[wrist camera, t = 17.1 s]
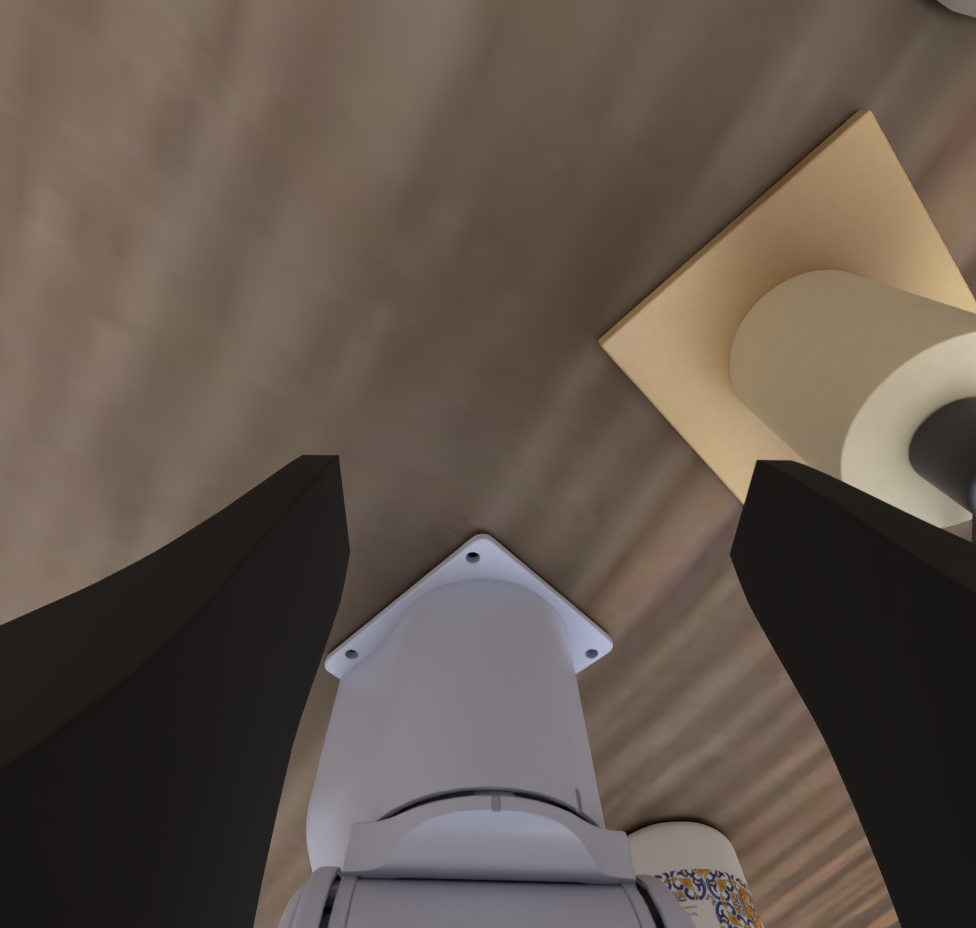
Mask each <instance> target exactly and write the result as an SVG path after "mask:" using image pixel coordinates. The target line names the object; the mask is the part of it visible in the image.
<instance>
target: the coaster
mask: <svg viewBox="0 0 976 928" xmlns="http://www.w3.org/2000/svg"><path fill="white" fill-rule="evenodd" d="M817 270H840V271H844V272H848V273H852V274H855V275H858V276H861V277H864V278H867V279H870V280H873V281H877V282H880V283H883V284H886V285H889V286H892V287H895V288H898V289H901V290H904V291H907V292H910V293H913V294H917V295H920V296H923V297H926V298H929V299H932V300H935V301H938V302H941V303H944V304H947V305H950V306H953V307H957V308H960V309H963V310H966V311H969V312H972V313H975V314H976V301H975V299H974V297H973V295H972V293H971V292H970V290H969V288H968V286H967V284H966V282H965V281H964V279H963V277H962V275H961V273H960V272H959V270H958V268H957V266H956V264H955V262H954V261H953V259H952V257H951V255H950V253H949V251H948V250H947V248H946V246H945V244H944V242H943V241H942V239H941V237H940V235H939V233H938V231H937V230H936V228H935V226H934V224H933V222H932V221H931V219H930V217H929V215H928V213H927V211H926V210H925V208H924V206H923V204H922V202H921V201H920V199H919V197H918V195H917V193H916V191H915V190H914V188H913V186H912V184H911V182H910V180H909V179H908V177H907V175H906V173H905V171H904V170H903V168H902V166H901V164H900V162H899V160H898V159H897V157H896V155H895V153H894V151H893V150H892V148H891V146H890V144H889V142H888V140H887V139H886V137H885V135H884V133H883V131H882V130H881V128H880V126H879V124H878V122H877V120H876V119H875V117H874V115H873V113H872V111H871V110H862V111H857V112H856V113H855V114H854V115H853V116H852V117H850V118H849V119H848V120H847V121H846V122H845V123H844V124H843V125H841V126H840V127H839V128H838V129H837V130H836V131H835V132H833V133H832V134H831V135H830V136H829V137H828V138H827V139H825V140H824V141H823V142H822V143H821V144H820V145H819V146H818V147H816V148H815V149H814V150H813V151H812V152H811V153H810V154H808V155H807V156H806V157H805V158H804V159H803V160H802V161H801V162H799V163H798V164H797V165H796V166H795V167H794V168H793V169H791V170H790V171H789V172H788V173H787V174H786V175H785V176H784V177H782V178H781V179H780V180H779V181H778V182H777V183H776V184H774V185H773V186H772V187H771V188H770V189H769V190H768V191H767V192H765V193H764V194H763V195H762V196H761V197H760V198H759V199H757V200H756V201H755V202H754V203H753V204H752V205H751V206H749V207H748V208H747V209H746V210H745V211H744V212H743V213H742V214H740V215H739V216H738V217H737V218H736V219H735V220H734V221H732V222H731V223H730V224H729V225H728V226H727V227H726V228H725V229H723V230H722V231H721V232H720V233H719V234H718V235H717V236H715V237H714V238H713V239H712V240H711V241H710V242H709V243H708V244H706V245H705V246H704V247H703V248H702V249H701V250H700V251H698V252H697V253H696V254H695V255H694V256H693V257H692V258H691V259H689V260H688V261H687V262H686V263H685V264H684V265H683V266H681V267H680V268H679V269H678V270H677V271H676V272H675V273H674V274H672V275H671V276H670V277H669V278H668V279H667V280H666V281H664V282H663V283H662V284H661V285H660V286H659V287H658V288H656V289H655V290H654V291H653V292H652V293H651V294H650V295H649V296H647V297H646V298H645V299H644V300H643V301H642V302H641V303H639V304H638V305H637V306H636V307H635V308H634V309H633V310H632V311H630V312H629V313H628V314H627V315H626V316H625V317H624V318H622V319H621V320H620V321H619V322H618V323H617V324H616V325H615V326H613V327H612V328H611V329H610V330H609V331H608V332H607V333H605V334H604V335H603V336H602V337H601V338H600V339H599V340H598V342H599V344H600V346H601V347H602V348H603V349H604V350H605V351H606V353H607V354H608V355H609V356H610V357H611V358H612V359H613V360H614V361H615V363H616V364H617V365H618V366H619V367H620V368H621V369H622V370H623V371H624V373H625V374H626V375H627V376H628V377H629V378H630V379H631V380H632V382H633V383H634V384H635V385H636V386H637V387H638V388H639V389H640V390H641V392H642V393H643V394H644V395H645V396H646V397H647V398H648V399H649V400H650V402H651V403H652V404H653V405H654V406H655V407H656V408H657V409H658V410H659V412H660V413H661V414H662V415H663V416H664V417H665V418H666V419H667V420H668V422H669V423H670V424H671V425H672V426H673V427H674V428H675V429H676V431H677V432H678V433H679V434H680V435H681V436H682V437H683V438H684V439H685V441H686V442H687V443H688V444H689V445H690V446H691V447H692V448H693V449H694V451H695V452H696V453H697V454H698V455H699V456H700V457H701V458H702V459H703V461H704V462H705V463H706V464H707V465H708V466H709V467H710V468H711V469H712V471H713V472H714V473H715V474H716V475H717V476H718V477H719V478H720V480H721V481H722V482H723V483H724V484H725V485H726V486H727V487H728V488H729V490H730V491H731V492H732V493H733V494H734V495H735V496H736V497H737V498H738V500H739V501H740V502H741V503H742V504H743V505H744V503H745V499H746V496H747V492H748V489H749V485H750V482H751V478H752V475H753V471H754V468H755V464H756V461H757V460H792V461H796V462H798V463H801V464H804V465H807V466H809V465H808V464H807V463H806V462H805V461H804V460H803V459H802V458H801V457H800V456H798V455H797V454H796V453H795V452H794V451H793V450H792V449H791V448H790V447H789V446H788V445H787V444H786V443H785V442H784V441H783V440H781V439H780V438H779V437H778V436H777V435H776V434H775V433H774V432H773V431H772V430H771V429H770V428H769V427H768V426H767V425H766V424H764V423H763V422H762V421H761V420H760V419H759V418H758V417H757V416H756V415H755V414H754V413H753V412H752V411H751V410H750V409H749V408H747V407H746V406H745V405H744V403H743V402H742V401H741V400H740V399H739V397H738V396H737V394H736V393H735V391H734V388H733V386H732V383H731V380H730V375H729V355H730V349H731V345H732V342H733V338H734V336H735V334H736V331H737V329H738V327H739V325H740V324H741V322H742V320H743V319H744V317H745V316H746V314H747V313H748V312H749V310H750V309H751V308H752V307H753V306H754V305H755V303H756V302H757V301H758V300H759V299H761V298H762V297H763V296H764V295H765V294H766V293H767V292H769V291H770V290H772V289H773V288H774V287H776V286H777V285H779V284H781V283H783V282H784V281H786V280H788V279H791V278H793V277H795V276H797V275H801V274H804V273H807V272H812V271H817ZM809 467H810V466H809Z"/></svg>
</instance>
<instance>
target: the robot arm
mask: <svg viewBox="0 0 976 928" xmlns="http://www.w3.org/2000/svg"><path fill="white" fill-rule="evenodd" d="M470 552H475V553H477V554H478V556H476V557H470V556H468V555H467V554H468V553H470ZM349 555H350V547H349V539H348V530H347V522H346V513H345V505H344V496H343V488H342V479H341V471H340V463H339V455H302V456H300V457H299V458H297V459H295V460H293V461H292V462H290V463H289V464H287V465H286V466H284V467H283V468H282V469H280V470H279V471H277V472H276V473H274V474H273V475H272V476H270V477H269V478H267V479H266V480H265V481H263V482H262V483H260V484H259V485H257V486H256V487H255V488H253V489H252V490H250V491H249V492H247V493H246V494H245V495H243V496H242V497H240V498H239V499H237V500H236V501H234V502H233V503H232V504H230V505H229V506H227V507H226V508H224V509H223V510H221V511H220V512H218V513H217V514H215V515H214V516H212V517H210V518H209V519H207V520H206V521H204V522H202V523H201V524H199V525H198V526H196V527H194V528H193V529H191V530H190V531H188V532H187V533H185V534H183V535H182V536H180V537H179V538H177V539H175V540H174V541H172V542H171V543H169V544H167V545H166V546H164V547H162V548H160V549H159V550H157V551H155V552H154V553H152V554H150V555H148V556H146V557H144V558H143V559H141V560H139V561H137V562H135V563H133V564H132V565H130V566H128V567H126V568H124V569H122V570H120V571H118V572H116V573H114V574H112V575H110V576H108V577H106V578H104V579H102V580H101V581H99V582H96V583H94V584H92V585H90V586H88V587H86V588H84V589H82V590H80V591H77V592H75V593H73V594H71V595H68V596H66V597H64V598H62V599H59V600H57V601H55V602H53V603H50V604H48V605H46V606H43V607H41V608H39V609H37V610H34V611H32V612H30V613H28V614H25V615H23V616H21V617H19V618H16V619H14V620H12V621H10V622H7V623H5V624H2V625H0V928H253V925H254V920H255V915H256V910H257V905H258V900H259V895H260V890H261V884H262V880H263V875H264V870H265V866H266V861H267V856H268V852H269V847H270V843H271V838H272V833H273V829H274V824H275V819H276V815H277V810H278V806H279V802H280V797H281V793H282V789H283V784H284V780H285V776H286V772H287V767H288V763H289V759H290V754H291V750H292V746H293V743H294V739H295V736H296V733H297V729H298V726H299V722H300V719H301V716H302V713H303V710H304V707H305V704H306V701H307V699H308V696H309V693H310V690H311V687H312V684H313V681H314V678H315V675H316V672H317V669H318V667H319V664H320V661H321V658H322V655H323V652H324V649H325V646H326V643H327V640H328V637H329V634H330V632H331V629H332V626H333V623H334V620H335V617H336V614H337V611H338V608H339V604H340V601H341V596H342V592H343V587H344V582H345V577H346V571H347V566H348V560H349ZM730 556H731V559H732V562H733V564H734V567H735V570H736V573H737V576H738V578H739V581H740V584H741V586H742V588H743V591H744V593H745V596H746V598H747V601H748V603H749V605H750V607H751V609H752V611H753V613H754V614H755V616H756V618H757V620H758V622H759V623H760V625H761V627H762V629H763V631H764V632H765V634H766V636H767V638H768V640H769V641H770V643H771V645H772V647H773V648H774V650H775V652H776V654H777V655H778V657H779V659H780V661H781V662H782V664H783V666H784V668H785V669H786V671H787V673H788V675H789V676H790V678H791V680H792V682H793V683H794V685H795V687H796V689H797V690H798V692H799V694H800V696H801V697H802V699H803V701H804V703H805V704H806V706H807V708H808V710H809V711H810V713H811V715H812V717H813V719H814V720H815V722H816V724H817V726H818V728H819V730H820V732H821V734H822V736H823V738H824V740H825V742H826V744H827V746H828V748H829V750H830V752H831V755H832V757H833V759H834V761H835V764H836V766H837V768H838V771H839V773H840V775H841V777H842V780H843V782H844V784H845V786H846V789H847V791H848V793H849V795H850V798H851V800H852V802H853V805H854V807H855V809H856V812H857V814H858V817H859V819H860V822H861V824H862V826H863V829H864V831H865V834H866V836H867V839H868V841H869V844H870V846H871V849H872V851H873V854H874V856H875V859H876V861H877V863H878V866H879V868H880V871H881V873H882V876H883V878H884V881H885V884H886V887H887V889H888V892H889V895H890V897H891V900H892V903H893V906H894V908H895V911H896V914H897V916H898V919H899V922H900V924H901V927H902V928H976V544H974V543H972V542H970V541H968V540H965V539H963V538H961V537H958V536H956V535H954V534H952V533H949V532H947V531H945V530H943V529H941V528H939V527H936V526H934V525H932V524H930V523H928V522H926V521H924V520H922V519H919V518H917V517H915V516H913V515H911V514H909V513H907V512H905V511H903V510H901V509H899V508H897V507H894V506H892V505H890V504H888V503H886V502H884V501H882V500H880V499H878V498H876V497H874V496H872V495H870V494H868V493H866V492H864V491H862V490H860V489H857V488H855V487H853V486H851V485H849V484H847V483H845V482H843V481H841V480H839V479H837V478H834V477H832V476H830V475H828V474H826V473H823V472H821V471H819V470H817V469H814V468H812V467H809V466H807V465H804V464H801V463H798V462H796V461H792V460H757V461H756V464H755V468H754V471H753V475H752V478H751V482H750V485H749V489H748V492H747V496H746V499H745V503H744V506H743V510H742V513H741V517H740V520H739V524H738V527H737V531H736V534H735V538H734V541H733V545H732V548H731V552H730ZM612 647H613V644H612V640H611V637H610V636H609V635H608V634H607V633H606V632H605V631H603V630H602V629H601V628H600V627H599V626H597V625H596V624H595V623H594V622H593V621H591V620H590V619H589V618H588V617H587V616H586V615H584V614H583V613H582V612H581V611H580V610H578V609H577V608H576V607H575V606H574V605H572V604H571V603H570V602H569V601H568V600H566V599H565V598H564V597H563V596H562V595H561V594H559V593H558V592H557V591H556V590H555V589H553V588H552V587H551V586H550V585H549V584H547V583H546V582H545V581H544V580H543V579H541V578H540V577H539V576H538V575H537V574H536V573H534V572H533V571H532V570H531V569H530V568H528V567H527V566H526V565H525V564H524V563H522V562H521V561H520V560H519V559H518V558H516V557H515V556H514V555H513V554H512V553H510V552H509V551H508V550H507V549H506V548H505V547H503V546H502V545H501V544H500V543H499V542H497V541H496V540H495V539H494V538H493V537H491V536H489V535H488V534H477V535H475V536H474V537H472V538H471V539H470V540H468V541H467V542H466V543H465V544H463V545H462V546H461V547H460V548H459V549H457V550H456V551H455V552H454V553H452V554H451V555H450V556H449V557H448V558H446V559H445V560H444V561H443V562H441V563H440V564H439V565H438V566H437V567H435V568H434V569H433V570H432V571H430V572H429V573H428V574H427V575H425V576H424V577H423V578H422V579H421V580H419V581H418V582H417V583H416V584H414V585H413V586H412V587H411V588H410V589H408V590H407V591H406V592H405V593H403V594H402V595H401V596H400V597H398V598H397V599H396V600H395V601H394V602H392V603H391V604H390V605H389V606H387V607H386V608H385V609H384V610H383V611H381V612H380V613H379V614H378V615H376V616H375V617H374V618H373V619H371V620H370V621H369V622H368V623H367V624H365V625H364V626H363V627H362V628H360V629H359V630H358V631H357V632H356V633H354V634H353V635H352V636H351V637H349V638H348V639H347V640H346V641H345V642H343V643H342V644H341V645H340V646H338V647H337V648H336V649H335V650H333V651H332V652H331V653H330V654H329V655H328V656H327V657H326V660H325V669H326V670H327V671H328V672H329V673H331V674H333V675H334V676H336V677H337V678H339V679H340V683H339V687H338V691H337V694H336V698H335V702H334V706H333V710H332V714H331V718H330V722H329V726H328V730H327V734H326V738H325V742H324V746H323V749H322V753H321V757H320V761H319V765H318V769H317V773H316V777H315V781H314V785H313V789H312V793H311V797H310V801H309V805H308V812H307V819H306V838H307V848H308V854H309V859H310V863H311V868H312V871H313V873H312V875H311V876H310V878H309V879H308V882H306V883H305V884H304V885H303V886H302V887H301V888H300V889H299V890H298V891H297V892H296V893H295V894H294V895H293V896H292V898H291V899H290V900H289V902H288V904H287V906H286V908H285V910H284V912H283V914H282V917H281V919H280V922H279V924H278V927H277V928H697V927H696V926H695V924H694V922H693V921H692V919H691V918H690V916H689V915H688V914H687V912H686V911H685V910H684V909H683V907H682V906H681V905H680V904H679V902H678V900H677V899H676V897H675V896H674V895H673V893H672V892H671V890H670V889H669V888H668V887H667V885H666V884H664V883H663V882H662V881H661V880H660V879H659V878H656V877H653V876H650V875H635V871H634V866H633V862H632V857H631V853H630V848H629V844H628V839H627V835H626V833H625V832H624V831H618V830H609V829H605V824H604V819H603V813H602V808H601V803H600V798H599V793H598V788H597V782H596V777H595V772H594V767H593V762H592V756H591V751H590V746H589V741H588V736H587V731H586V725H585V720H584V715H583V710H582V705H581V699H580V694H579V689H578V684H577V679H576V674H577V673H578V672H580V671H581V670H583V669H584V668H586V667H588V666H589V665H591V664H592V663H594V662H595V661H597V660H598V659H600V658H601V657H603V656H604V655H606V654H607V653H609V652H610V651H611V650H612ZM590 649H594V650H592V651H587V650H590ZM349 650H354V651H356V652H351V651H349Z"/></svg>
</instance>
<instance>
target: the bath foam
mask: <svg viewBox="0 0 976 928" xmlns="http://www.w3.org/2000/svg"><path fill="white" fill-rule="evenodd" d="M627 839H628V844H629V848H630V853H631V857H632V862H633V866H634V871H635V875H650V876H653V877H656V878H659V879H660V880H661V881H662V882H663V883H664V884H666V885H667V887H668V888H669V889H670V890H671V892H672V893H673V895H674V896H675V897H676V899H677V900H678V902H679V904H680V905H681V906H682V907H683V909H684V910H685V911H686V912H687V914H688V915H689V916H690V918H691V919H692V921H693V922H694V924H695V926H696V927H697V928H764V927H763V924H762V922H761V919H760V916H759V914H758V911H757V908H756V906H755V903H754V900H753V898H752V895H751V892H750V890H749V888H748V885H747V882H746V880H745V877H744V874H743V872H742V869H741V866H740V864H739V861H738V858H737V856H736V853H735V851H734V849H733V846H732V845H731V843H730V842H729V840H728V839H727V838H726V837H725V836H724V835H723V834H722V833H720V832H719V831H717V830H715V829H714V828H712V827H709V826H707V825H703V824H700V823H695V822H665V823H658V824H654V825H650V826H647V827H644V828H642V829H639V830H637V831H635V832H633V833H631V834H630V835H628V836H627Z"/></svg>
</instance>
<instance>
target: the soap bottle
mask: <svg viewBox="0 0 976 928" xmlns="http://www.w3.org/2000/svg"><path fill="white" fill-rule="evenodd" d="M729 375H730V380H731V383H732V386H733V388H734V391H735V393H736V394H737V396H738V397H739V399H740V400H741V401H742V402H743V403H744V405H745V406H746V407H747V408H749V409H750V410H751V411H752V412H753V413H754V414H755V415H756V416H757V417H758V418H759V419H760V420H761V421H762V422H763V423H764V424H766V425H767V426H768V427H769V428H770V429H771V430H772V431H773V432H774V433H775V434H776V435H777V436H778V437H779V438H780V439H781V440H783V441H784V442H785V443H786V444H787V445H788V446H789V447H790V448H791V449H792V450H793V451H794V452H795V453H796V454H797V455H798V456H800V457H801V458H802V459H803V460H804V461H805V462H806V463H807V464H808V465H809V466H810V467H812V468H814V469H817V470H819V471H821V472H823V473H826V474H828V475H830V476H832V477H834V478H837V479H839V480H841V481H843V482H845V483H847V484H849V485H851V486H853V487H855V488H857V489H860V490H862V491H864V492H866V493H868V494H870V495H872V496H874V497H876V498H878V499H880V500H882V501H884V502H886V503H888V504H890V505H892V506H894V507H897V508H899V509H901V510H903V511H905V512H907V513H909V514H911V515H913V516H915V517H917V518H919V519H922V520H924V521H926V522H928V523H930V524H932V525H934V526H936V527H939V528H944V527H948V526H952V525H956V524H959V523H962V522H965V521H968V520H971V519H972V543H974V544H976V314H975V313H972V312H969V311H966V310H963V309H960V308H957V307H953V306H950V305H947V304H944V303H941V302H938V301H935V300H932V299H929V298H926V297H923V296H920V295H917V294H913V293H910V292H907V291H904V290H901V289H898V288H895V287H892V286H889V285H886V284H883V283H880V282H877V281H873V280H870V279H867V278H864V277H861V276H858V275H855V274H852V273H848V272H844V271H840V270H817V271H812V272H807V273H804V274H801V275H797V276H795V277H793V278H791V279H788V280H786V281H784V282H783V283H781V284H779V285H777V286H776V287H774V288H773V289H772V290H770V291H769V292H767V293H766V294H765V295H764V296H763V297H762V298H761V299H759V300H758V301H757V302H756V303H755V305H754V306H753V307H752V308H751V309H750V310H749V312H748V313H747V314H746V316H745V317H744V319H743V320H742V322H741V324H740V325H739V327H738V329H737V331H736V334H735V336H734V338H733V342H732V345H731V349H730V355H729Z"/></svg>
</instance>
